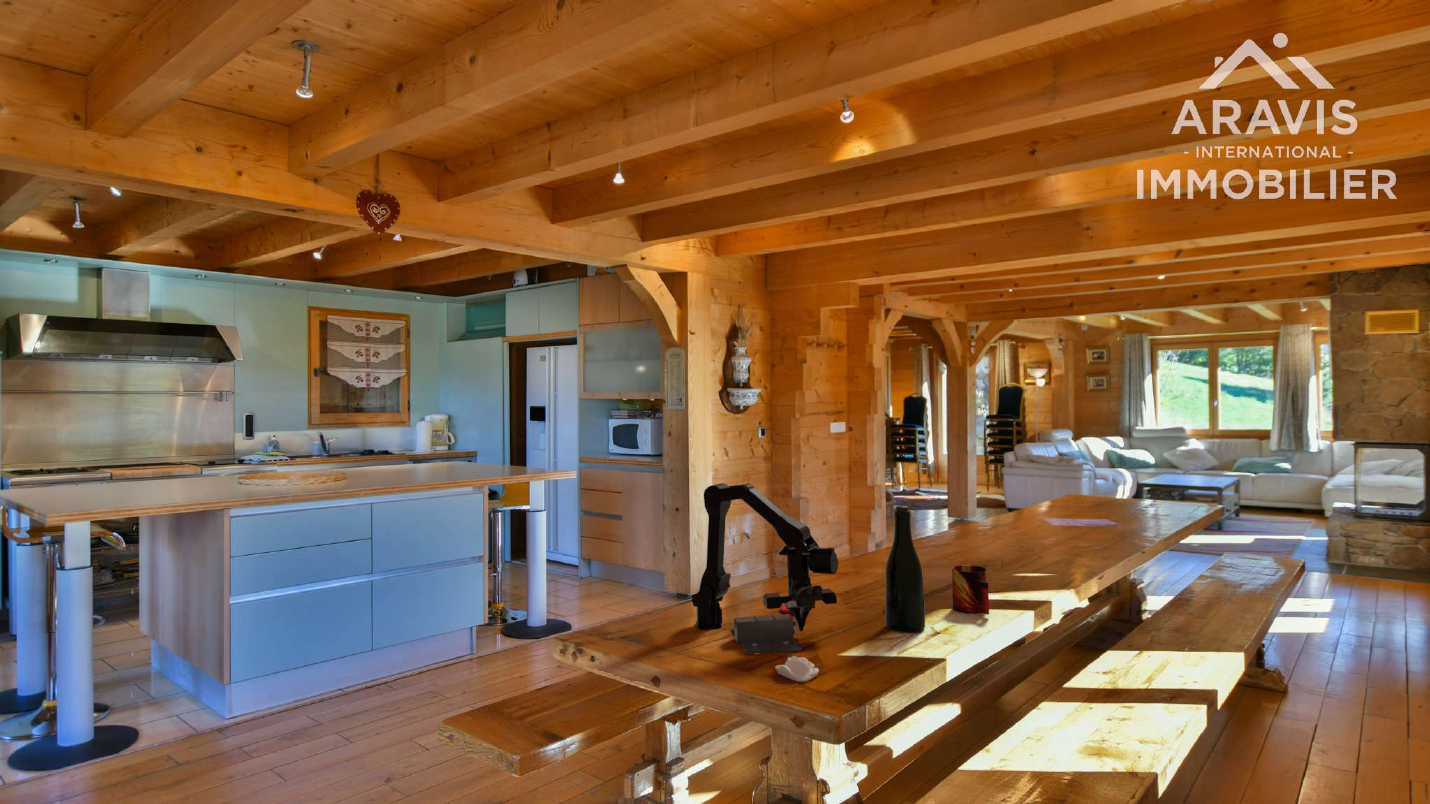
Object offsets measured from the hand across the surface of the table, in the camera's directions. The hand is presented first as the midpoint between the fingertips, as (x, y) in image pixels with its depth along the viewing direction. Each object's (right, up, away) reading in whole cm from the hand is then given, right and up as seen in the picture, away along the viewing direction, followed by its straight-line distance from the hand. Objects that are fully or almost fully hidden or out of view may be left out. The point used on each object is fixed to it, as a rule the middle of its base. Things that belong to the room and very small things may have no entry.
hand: (801, 631), depth 209 cm
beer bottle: (+29, -1, +6) cm, 29 cm away
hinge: (-9, -2, -1) cm, 10 cm away
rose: (-4, -2, -28) cm, 29 cm away
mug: (+53, 0, +21) cm, 57 cm away
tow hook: (+1, -2, +26) cm, 26 cm away
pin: (-9, -2, -1) cm, 10 cm away
